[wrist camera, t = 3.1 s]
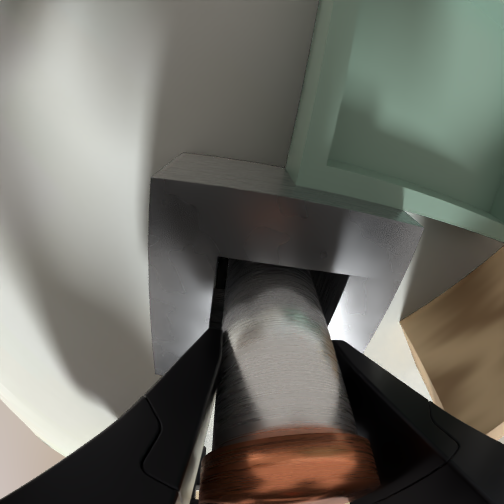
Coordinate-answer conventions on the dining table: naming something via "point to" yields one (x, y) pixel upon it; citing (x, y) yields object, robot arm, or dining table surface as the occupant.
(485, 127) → the tray
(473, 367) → the block
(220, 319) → the holder
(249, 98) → the dining table surface
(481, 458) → the robot arm
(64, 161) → the dining table surface
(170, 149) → the dining table surface
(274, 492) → the pin
